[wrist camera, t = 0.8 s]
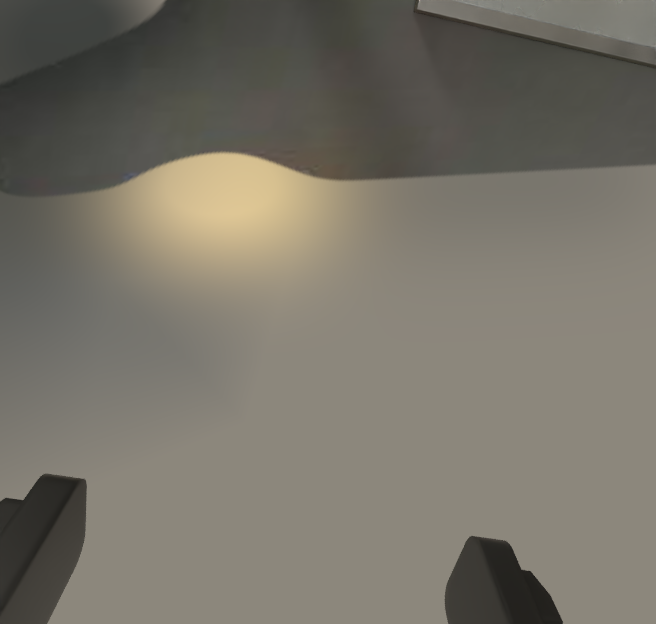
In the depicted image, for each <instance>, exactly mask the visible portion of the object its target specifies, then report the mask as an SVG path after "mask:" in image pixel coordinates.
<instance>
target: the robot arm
mask: <svg viewBox="0 0 656 624" xmlns="http://www.w3.org/2000/svg"><path fill="white" fill-rule="evenodd" d="M86 488H87V486H86V480H84V479H80V478H72V477H66V476H59V475H52V474H44V475H42V476H41V477H40V478H39V479H38V481H37V482H36V483H35V485H34V486H33V487H32V489H31V490H30V492H29V493H28V494H27V496H26V497H25V499H24V500H17V499H9V498H5V499H3V500H2V501H1V502H0V624H47V623H48V621H49V619H50V617H51V615H52V613H53V611H54V609H55V607H56V605H57V603H58V601H59V599H60V597H61V595H62V593H63V591H64V589H65V587H66V585H67V583H68V581H69V579H70V577H71V575H72V573H73V571H74V569H75V567H76V564H77V562H78V559H79V557H80V554H81V551H82V547H83V543H84V537H85V522H86ZM445 609H446V615H447V620H448V623H449V624H563V621H562V619H561V617H560V615H559V613H558V611H557V609H556V607H555V604H554V602H553V600H552V598H551V596H550V595H549V593H548V592H547V591H546V589H545V588H544V587H543V586H542V585H541V583H540V582H539V581H538V580H537V579H536V577H535V576H534V575H533V574H532V573H531V571H525V570H521V568H520V566H519V564H518V561H517V558H516V556H515V554H514V551H513V549H512V547H511V546H510V544H509V543H508V542H506V541H503V540H496V539H489V538H481V537H475V536H471V537H469V538H468V540H467V541H466V543H465V545H464V548H463V550H462V552H461V554H460V556H459V559H458V561H457V563H456V565H455V567H454V569H453V571H452V574H451V576H450V578H449V580H448V583H447V586H446V592H445Z"/></svg>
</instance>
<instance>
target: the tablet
mask: <svg viewBox="0 0 656 624" xmlns="http://www.w3.org/2000/svg"><path fill="white" fill-rule="evenodd" d="M414 12H416V13H420V14H424V15H429V16H433V17H437V18H442V19H446V20H450V21H454V22H459V23H463V24H467V25H472V26H476V27H480V28H485V29H489V30H493V31H498V32H502V33H506V34H511V35H515V36H519V37H524V38H528V39H532V40H536V41H541V42H545V43H549V44H554V45H558V46H562V47H567V48H571V49H575V50H580V51H584V52H588V53H593V54H597V55H601V56H605V57H610V58H614V59H618V60H623V61H627V62H631V63H636V64H640V65H644V66H649V67H653V68H656V0H416V2H415V7H414Z"/></svg>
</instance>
